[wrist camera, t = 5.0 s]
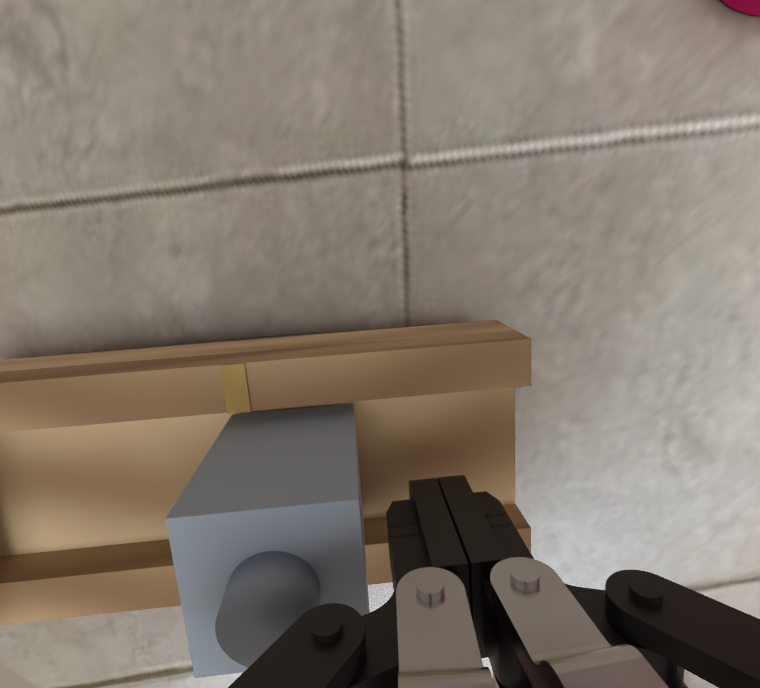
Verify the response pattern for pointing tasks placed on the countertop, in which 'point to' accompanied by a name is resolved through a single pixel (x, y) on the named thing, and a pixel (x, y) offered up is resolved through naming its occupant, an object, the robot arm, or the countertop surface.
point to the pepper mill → (745, 6)
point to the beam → (202, 427)
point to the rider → (268, 532)
